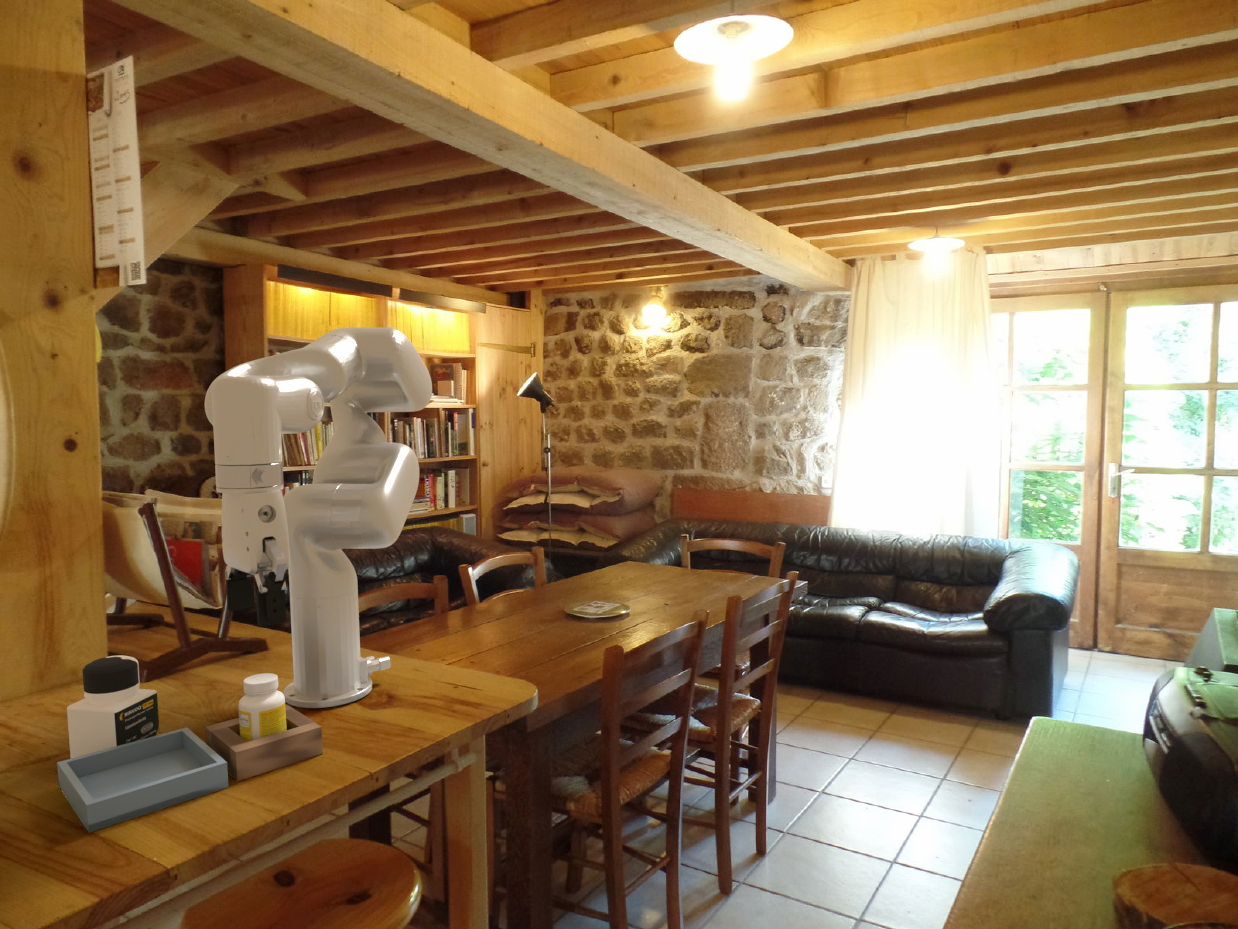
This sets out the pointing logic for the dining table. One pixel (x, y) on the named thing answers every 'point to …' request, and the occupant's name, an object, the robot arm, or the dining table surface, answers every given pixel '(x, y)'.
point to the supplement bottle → (261, 707)
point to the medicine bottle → (111, 707)
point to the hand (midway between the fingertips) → (256, 616)
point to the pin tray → (140, 777)
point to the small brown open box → (265, 745)
